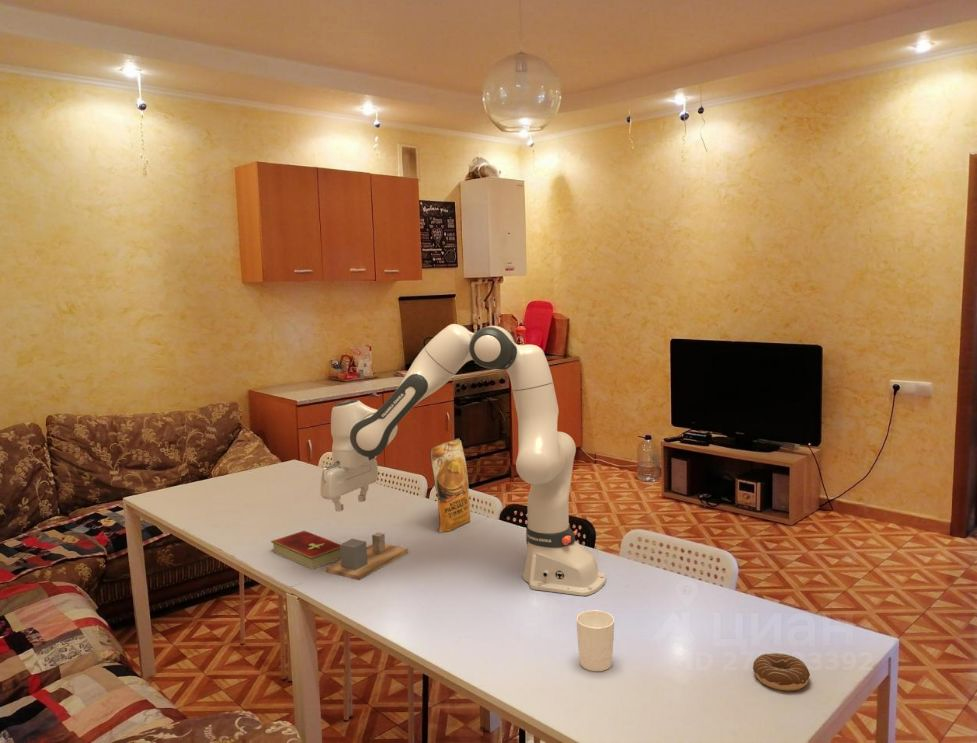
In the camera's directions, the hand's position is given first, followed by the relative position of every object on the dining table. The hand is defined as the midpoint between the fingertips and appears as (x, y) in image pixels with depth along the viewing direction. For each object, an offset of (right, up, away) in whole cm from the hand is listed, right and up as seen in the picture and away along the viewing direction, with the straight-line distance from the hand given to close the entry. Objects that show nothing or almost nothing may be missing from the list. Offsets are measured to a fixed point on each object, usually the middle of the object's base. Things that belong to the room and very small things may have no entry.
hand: (351, 505), depth 203 cm
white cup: (+61, -24, -50) cm, 83 cm away
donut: (+98, -25, -57) cm, 116 cm away
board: (+4, -18, +8) cm, 20 cm away
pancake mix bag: (+27, -13, +37) cm, 47 cm away
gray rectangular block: (0, -17, +2) cm, 18 cm away
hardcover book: (-16, -18, +15) cm, 28 cm away
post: (+6, -16, +12) cm, 21 cm away
